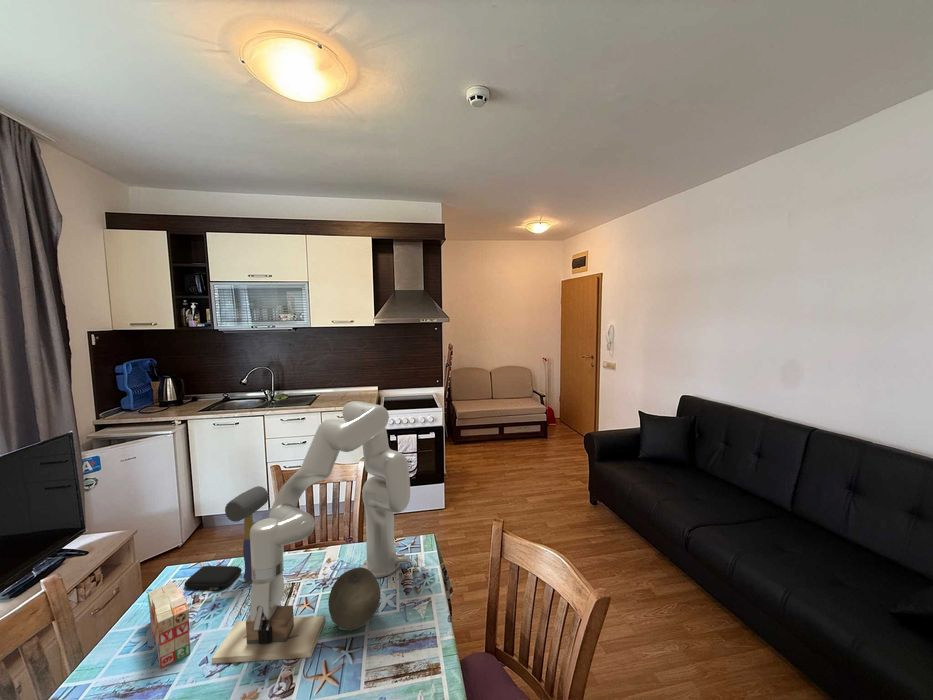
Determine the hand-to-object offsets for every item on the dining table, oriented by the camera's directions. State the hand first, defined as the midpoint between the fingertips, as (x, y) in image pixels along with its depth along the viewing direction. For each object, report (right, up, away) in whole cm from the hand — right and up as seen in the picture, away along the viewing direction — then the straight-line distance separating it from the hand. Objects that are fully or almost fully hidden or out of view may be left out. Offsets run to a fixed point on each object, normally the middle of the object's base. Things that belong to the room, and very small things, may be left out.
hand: (270, 633), depth 102 cm
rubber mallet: (-19, -1, +25) cm, 32 cm away
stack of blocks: (-28, -3, +2) cm, 28 cm away
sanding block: (0, 0, 0) cm, 0 cm away
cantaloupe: (+21, -2, +6) cm, 22 cm away
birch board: (0, -2, 0) cm, 2 cm away
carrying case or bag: (-32, -2, +25) cm, 40 cm away
